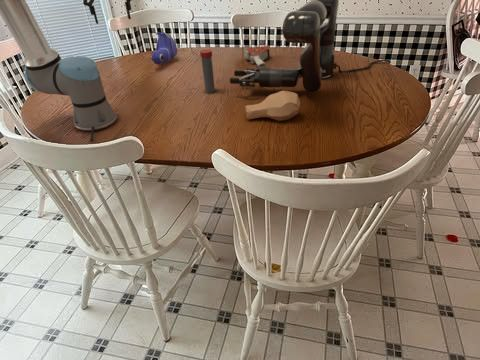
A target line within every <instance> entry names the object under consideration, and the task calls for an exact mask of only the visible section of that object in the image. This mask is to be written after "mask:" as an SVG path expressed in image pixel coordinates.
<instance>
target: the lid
mask: <svg viewBox="0 0 480 360" xmlns="http://www.w3.org/2000/svg"><path fill="white" fill-rule="evenodd" d="M199 55H200V58H201V57H202V58H209V57H212V58H213V50H212V49H206V48H205V49H201V50H200V51H199Z"/></svg>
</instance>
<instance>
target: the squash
mask: <svg viewBox="0 0 480 360" xmlns="http://www.w3.org/2000/svg"><path fill="white" fill-rule="evenodd" d="M300 105H301V100H300V98H299V94H298V93H296V92H292V91H289V90H281V91H277V92H275V93H272V94H269V95H268V96H266V98H265V99H264V100H262V101H261V102H260V103H256V104H247V105H245V106H244V111H245V117H246V119H247V120H253V119H259V118H269V119H272V120H275V121H279V122H280V121H289V120H290V119H292V118H293V117H295V116H297V115H298V114H299V109H300Z"/></svg>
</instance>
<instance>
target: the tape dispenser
mask: <svg viewBox="0 0 480 360" xmlns="http://www.w3.org/2000/svg"><path fill="white" fill-rule="evenodd" d="M257 49H259V50H257ZM243 57H244V58H246V60H247V61H250V64H252V65H253V64H256V66H257V69H260V68H266V67H267V66H266V65H267V63H266V62H264V61H265V60H267V59H269V58H270V47H269V46H268V45H262V46H255V47H250V48H243Z"/></svg>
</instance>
